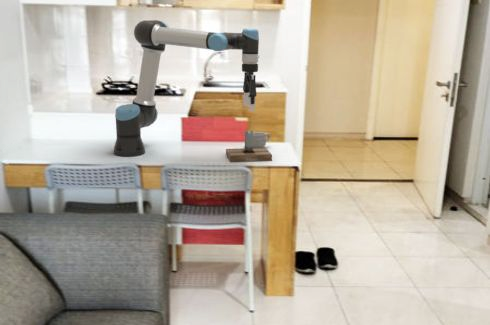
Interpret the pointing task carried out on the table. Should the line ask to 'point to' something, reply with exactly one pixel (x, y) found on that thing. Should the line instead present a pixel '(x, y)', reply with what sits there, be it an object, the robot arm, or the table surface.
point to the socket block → (248, 155)
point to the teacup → (260, 139)
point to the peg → (248, 142)
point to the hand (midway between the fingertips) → (249, 108)
